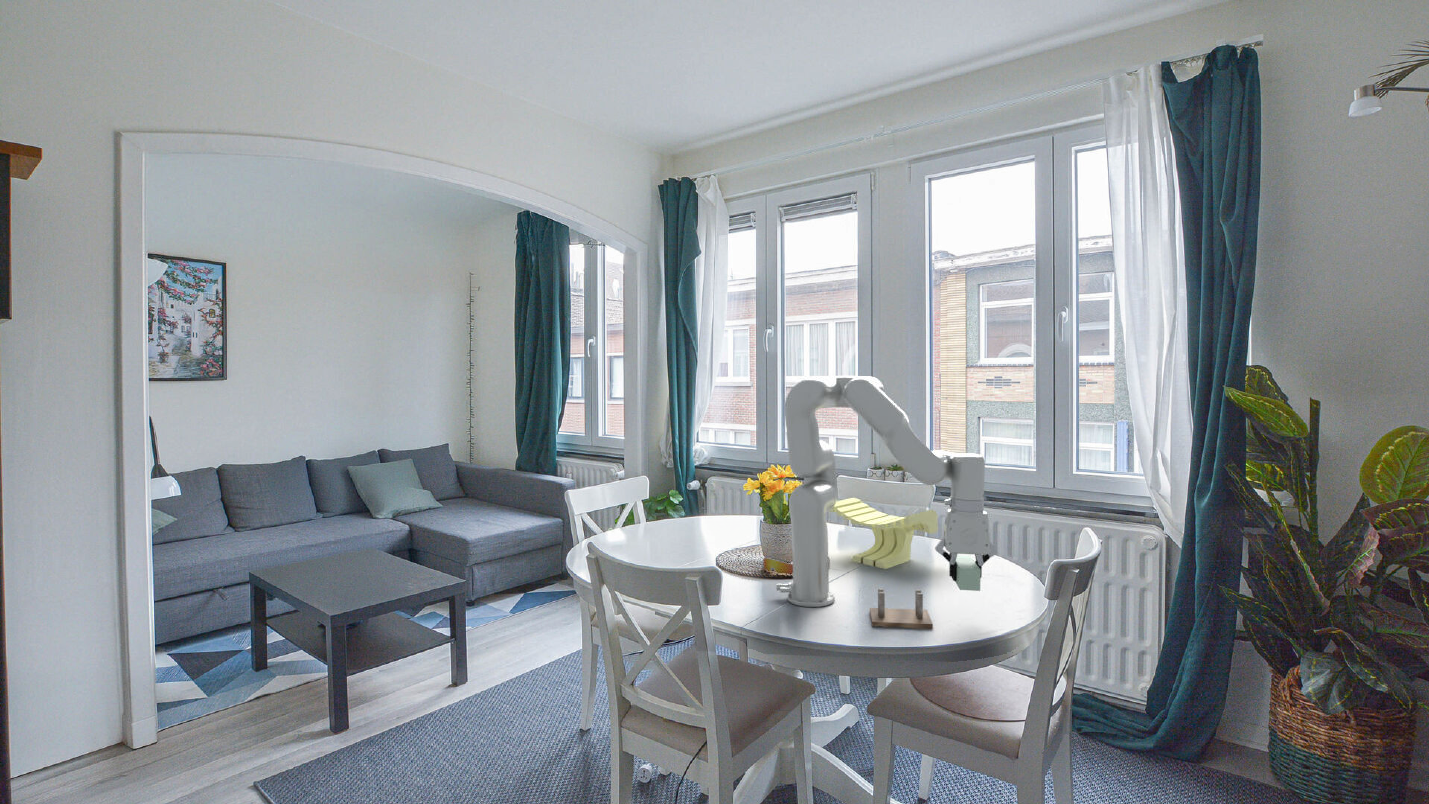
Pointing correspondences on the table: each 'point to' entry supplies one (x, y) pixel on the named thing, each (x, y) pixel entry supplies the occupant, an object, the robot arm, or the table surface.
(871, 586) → the table surface
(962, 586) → the mint green rectangular block
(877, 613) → the peg stand
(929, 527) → the slatted curved stool
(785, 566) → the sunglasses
